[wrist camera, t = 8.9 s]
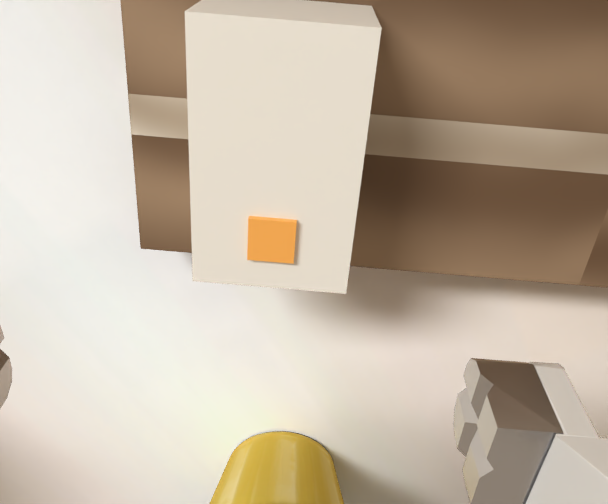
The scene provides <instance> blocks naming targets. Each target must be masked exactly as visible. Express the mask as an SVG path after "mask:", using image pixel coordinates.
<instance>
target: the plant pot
mask: <svg viewBox="0 0 608 504" xmlns="http://www.w3.org/2000/svg"><path fill="white" fill-rule="evenodd" d="M210 504H344V502H343V498H342V494H341V491H340V487H339V484H338V479H337V475H336V471H335V468H334V463H333V460H332V458H331V456H330V454H329V453H328V451H327V450H326V449H325V448H324V447H323V446H322V445H320V444H319V443H318V442H316V441H314V440H313V439H311V438H309V437H306V436H303V435H300V434H297V433H292V432H284V431H276V432H266V433H262V434H258V435H255V436H252V437H250V438H248V439H247V440H245V441H244V442H242V443H241V444H240V445H239V446H238V447H237V448H236V449H235V450H234V451H233V453H232V455H231V456H230V459H229V461H228V463H227V465H226V468H225V470H224V472H223V474H222V477H221V479H220V481H219V484H218V486H217V488H216V490H215V493H214V495H213V497H212V499H211V502H210Z"/></svg>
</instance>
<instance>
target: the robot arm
mask: <svg viewBox="0 0 608 504" xmlns="http://www.w3.org/2000/svg"><path fill="white" fill-rule="evenodd" d="M3 339H4V335H3V332H2V329H1V326H0V343H1V342H2V340H3ZM463 376H464V379H465V383H466V387H467V388H465V389H464V390H463V391H461V392H460V393H459V394H458V396H457V400H456V404H455V408H454V422H453V425H454V436H455V441H456V445H457V449H458V450H459V451H460V452H461V453H462V454H463V455H464V456H465V457H466V460H465V463H464V466H463V469H462V472H463V476H464V480H465V484H466V488H467V492H468V497H469V501H470V504H608V438H599V436H598V434H597V432H596V430H595V428H594V426H593V424H592V422H591V420H590V418H589V416H588V414H587V413H586V411H585V409H584V407H583V405H582V403H581V401H580V399H579V397H578V395H577V393H576V391H575V389H574V387H573V385H572V383H571V381H570V379H569V377H568V375H567V373H566V371H565V369H564V368H563V367H562V366H561V365H559V364H555V363H539V362H529V363H527V362H516V361H502V360H489V359H475V358H471V359H470V360H469V362H468V363H467V365H466V368H465V372H464V375H463ZM11 383H12V367H11V362H10V358H9V357H8V356H7V355H6V354H5V353H4V352H3V351H2V350H1V349H0V408H1V407H2V405H3V404H4V402H5V400H6V399H7V396H8V393H9V390H10V386H11Z"/></svg>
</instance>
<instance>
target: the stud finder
mask: <svg viewBox="0 0 608 504" xmlns="http://www.w3.org/2000/svg"><path fill="white" fill-rule="evenodd" d="M381 29H382V28H381V25H380V23H379V21H378V19H377V16H376V14H375V12H374V10H373V8H372V6H368V5H356V4H344V3H333V2H321V1H309V0H201V1H199V2H198V3H196V4H195V5H193V6H192V7H190V8H189V9H187V10H186V11H185V40H186V74H187V108H188V141H189V175H190V208H191V242H192V275H193V281H198V282H210V283H222V284H234V285H246V286H258V287H270V288H282V289H294V290H306V291H318V292H330V293H342V294H346V291H347V283H348V276H349V268H350V261H351V253H352V246H353V238H354V231H355V224H356V216H357V209H358V201H359V194H360V186H361V179H362V171H363V164H364V156H365V149H366V141H367V134H368V126H369V119H370V111H371V104H372V96H373V89H374V81H375V74H376V66H377V59H378V51H379V44H380V36H381Z"/></svg>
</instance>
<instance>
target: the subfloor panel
mask: <svg viewBox="0 0 608 504" xmlns="http://www.w3.org/2000/svg"><path fill="white" fill-rule="evenodd" d="M199 1H201V0H121V11H122V23H123V36H124V48H125V60H126V73H127V85H128V99H129V112H130V124H131V134H132V147H133V159H134V171H135V183H136V196H137V208H138V220H139V233H140V245H141V249H153V250H165V251H177V252H189V253H192V242H191V208H190V175H189V141H188V108H187V74H186V40H185V11H186V10H187V9H189V8H190V7H192V6H193V5H195V4H196V3H198V2H199ZM309 1H321V2H333V3H344V4H356V5H368V6H372V8H373V10H374V12H375V14H376V16H377V19H378V21H379V23H380V25H381V28H382V29H381V36H380V44H379V51H378V59H377V66H376V74H375V81H374V89H373V96H372V104H371V111H370V119H369V126H368V134H367V141H366V149H365V156H364V164H363V171H362V179H361V186H360V194H359V201H358V209H357V216H356V224H355V231H354V238H353V246H352V253H351V261H350V266H357V267H368V268H380V269H392V270H404V271H416V272H428V273H440V274H452V275H464V276H476V277H488V278H500V279H512V280H524V281H536V282H548V283H560V284H572V285H584V286H596V287H607V288H608V0H309Z"/></svg>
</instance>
